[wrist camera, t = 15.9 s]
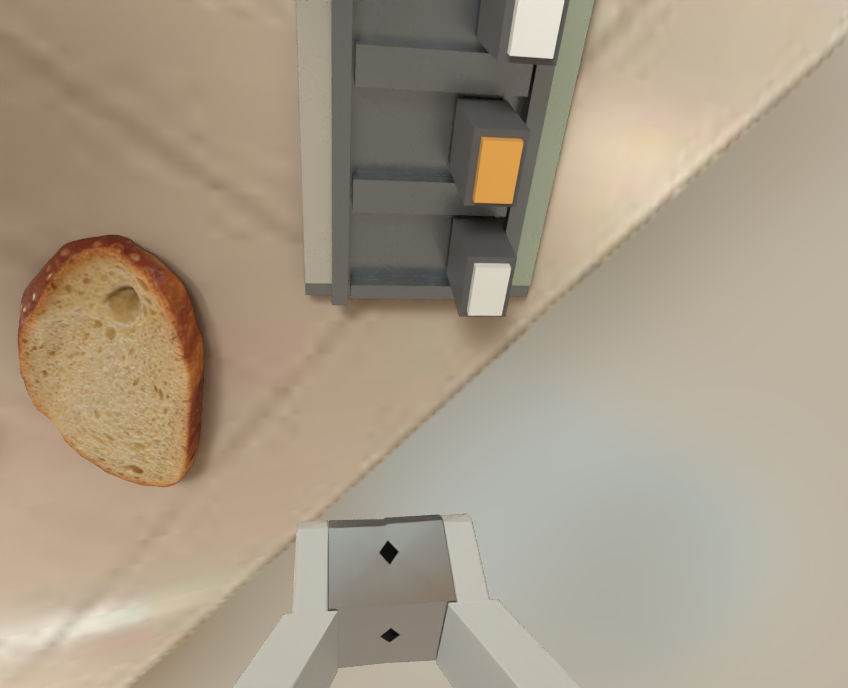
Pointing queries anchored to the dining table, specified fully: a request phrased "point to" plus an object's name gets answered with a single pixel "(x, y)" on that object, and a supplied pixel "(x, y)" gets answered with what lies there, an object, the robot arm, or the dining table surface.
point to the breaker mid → (488, 152)
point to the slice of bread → (115, 358)
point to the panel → (412, 140)
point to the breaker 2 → (522, 30)
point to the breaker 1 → (480, 266)
